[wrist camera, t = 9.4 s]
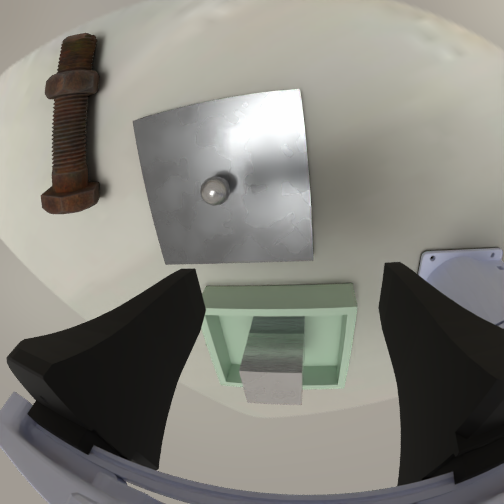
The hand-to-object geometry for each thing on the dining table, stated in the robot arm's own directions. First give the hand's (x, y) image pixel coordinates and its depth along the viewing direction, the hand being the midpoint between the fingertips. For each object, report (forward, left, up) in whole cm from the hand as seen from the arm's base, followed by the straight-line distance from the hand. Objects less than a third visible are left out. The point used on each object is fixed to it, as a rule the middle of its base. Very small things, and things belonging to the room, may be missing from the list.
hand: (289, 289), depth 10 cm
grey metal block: (+2, +12, -10) cm, 15 cm away
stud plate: (+5, -2, -10) cm, 12 cm away
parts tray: (+2, +12, -10) cm, 16 cm away
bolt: (+17, -10, -11) cm, 22 cm away
